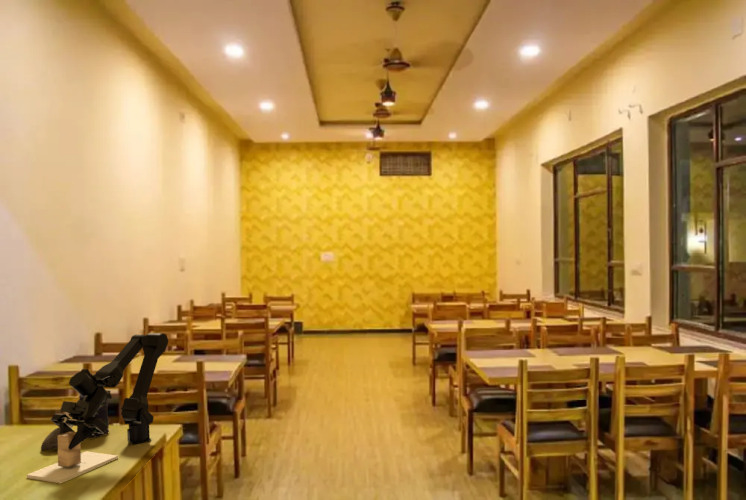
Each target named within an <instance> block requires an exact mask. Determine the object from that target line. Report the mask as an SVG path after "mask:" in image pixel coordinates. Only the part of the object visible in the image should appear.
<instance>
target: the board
mask: <svg viewBox="0 0 746 500" xmlns="http://www.w3.org/2000/svg"><path fill="white" fill-rule="evenodd" d="M115 459H116V460H118V459H119V455H117V454H116V455H115V454H109V453H101V452H93V451H84V452H82V453H81V463H80V464H77V465H75V466H72V467H69V468H67V467H61V466H58V462H55V463H53V464H51V465H48V466H45V467H42V468H41V469H38V470H37V469H36V470H35V471H32V472H30V473H28V474H26V478H27V479H31V480H37V481H44V482H49V483H57V484H62V483H65V482H67V481H70V480H72V479H75V478H76V477H79V476H82V475H83V474H86V473H88V472H90V471H92V470H95V469H97V468H99V467H102V466H105V465H106V463H107V464H109V463H111V462H110V461H112V462H114V461H116V460H115ZM113 460H114V461H113ZM108 462H109V463H108Z"/></svg>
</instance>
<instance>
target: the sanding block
mask: <svg viewBox="0 0 746 500" xmlns="http://www.w3.org/2000/svg"><path fill="white" fill-rule="evenodd" d="M76 432H77V431H75V432H66V433H63V434H60V435H58V449H57V463H58V466H61V467H67V468H69V467H72V466H75V465H77V464H80V463H81V452H82V451H81V449H82V448H81V447H82V446H81V445H82V442H81V443H80V444H78V445H77V446H75V447H74V448H73V449H71V450H70V449H69V448H68V447H69V445H70V443H71V441H72V439H73V437H74V435H75V434H76Z"/></svg>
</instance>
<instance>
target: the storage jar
mask: <svg viewBox="0 0 746 500" xmlns="http://www.w3.org/2000/svg"><path fill="white" fill-rule="evenodd" d="M78 397H79V400H82V401H83V399H84V398H85V396H82V395H80V394H79V395H78ZM108 407H109V399H105V400H104V401H103V403H102V404H101V406H100V408H99V409H98V410H99V411H100V413H99V414H95V416H94V417H99V418H100V419H101V420H102V421H103V422H104V423H105V424H106V425H107V429H106V431H105V433H104V434H100V433H97V432H96V429H95V431H94V433H95V435H92V436H90V437H89V438H90V439H91V438H92V437H93V438H99V437H104V436H105V434H106V435H108V434H109V433H108V432H110V431H109V428H110V427H109V425H110V422H109V416H108ZM107 433H108V434H107ZM89 438H88V439H89Z"/></svg>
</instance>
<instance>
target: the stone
mask: <svg viewBox="0 0 746 500" xmlns="http://www.w3.org/2000/svg"><path fill="white" fill-rule="evenodd" d="M59 434H60V427H57V428H55V429H53V430H52V431H51V432H50V433H49V434H48V435H47V436H46V437H45V438H44V439H43V441H42V443H41V446H40V451H42V452H44V451H51V450H58V447H57V442H58V435H59Z"/></svg>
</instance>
